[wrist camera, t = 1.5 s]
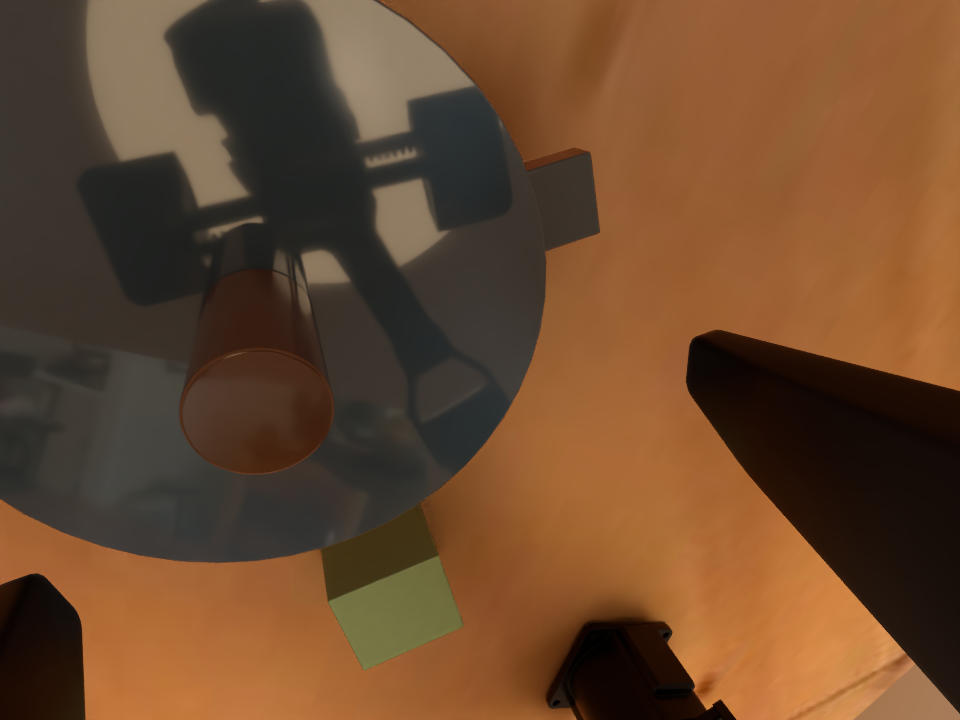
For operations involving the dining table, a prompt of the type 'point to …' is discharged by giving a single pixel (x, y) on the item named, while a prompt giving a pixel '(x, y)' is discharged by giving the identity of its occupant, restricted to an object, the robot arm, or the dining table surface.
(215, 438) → the lid
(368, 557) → the block
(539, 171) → the pot
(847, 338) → the dining table surface
